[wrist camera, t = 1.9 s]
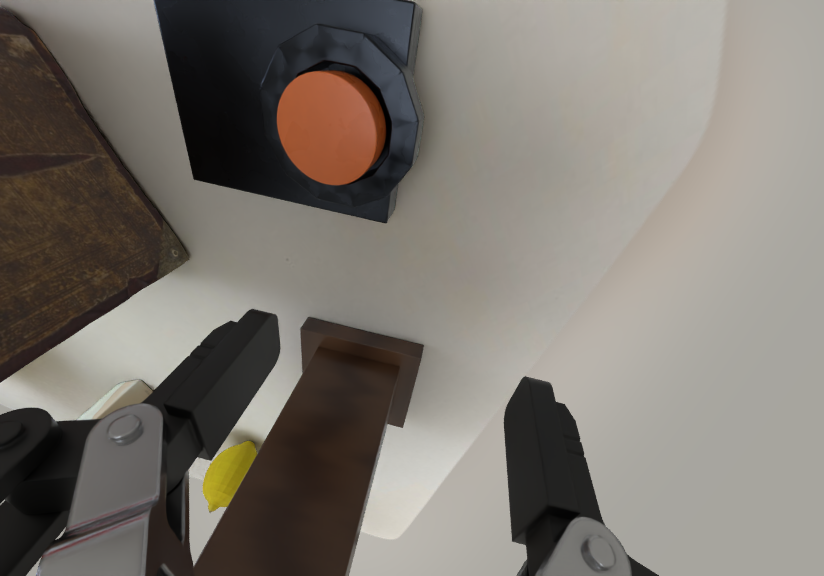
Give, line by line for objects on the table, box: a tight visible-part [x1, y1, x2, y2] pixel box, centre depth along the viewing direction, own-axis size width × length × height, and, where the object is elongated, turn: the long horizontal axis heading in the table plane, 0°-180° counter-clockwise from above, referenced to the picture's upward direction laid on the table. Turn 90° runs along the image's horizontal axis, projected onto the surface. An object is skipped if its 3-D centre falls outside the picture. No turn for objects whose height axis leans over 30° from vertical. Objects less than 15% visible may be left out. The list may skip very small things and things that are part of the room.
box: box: [77, 380, 153, 420], centre depth 35 cm, size 5×4×11 cm
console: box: [154, 0, 424, 223], centre depth 17 cm, size 13×10×4 cm
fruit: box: [203, 441, 258, 512], centre depth 39 cm, size 6×6×8 cm
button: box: [277, 70, 386, 185], centre depth 15 cm, size 4×4×2 cm
